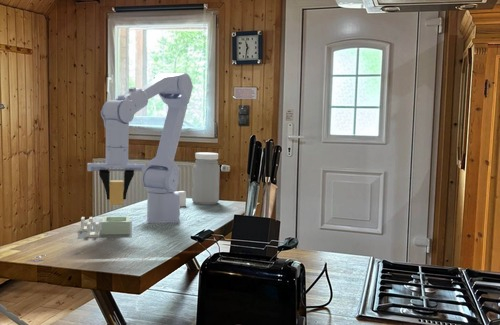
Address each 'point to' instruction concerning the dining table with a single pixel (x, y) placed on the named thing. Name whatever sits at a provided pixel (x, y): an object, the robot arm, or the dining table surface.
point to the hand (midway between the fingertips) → (116, 198)
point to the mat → (83, 234)
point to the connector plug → (116, 192)
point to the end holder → (115, 225)
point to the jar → (206, 179)
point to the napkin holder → (182, 198)
